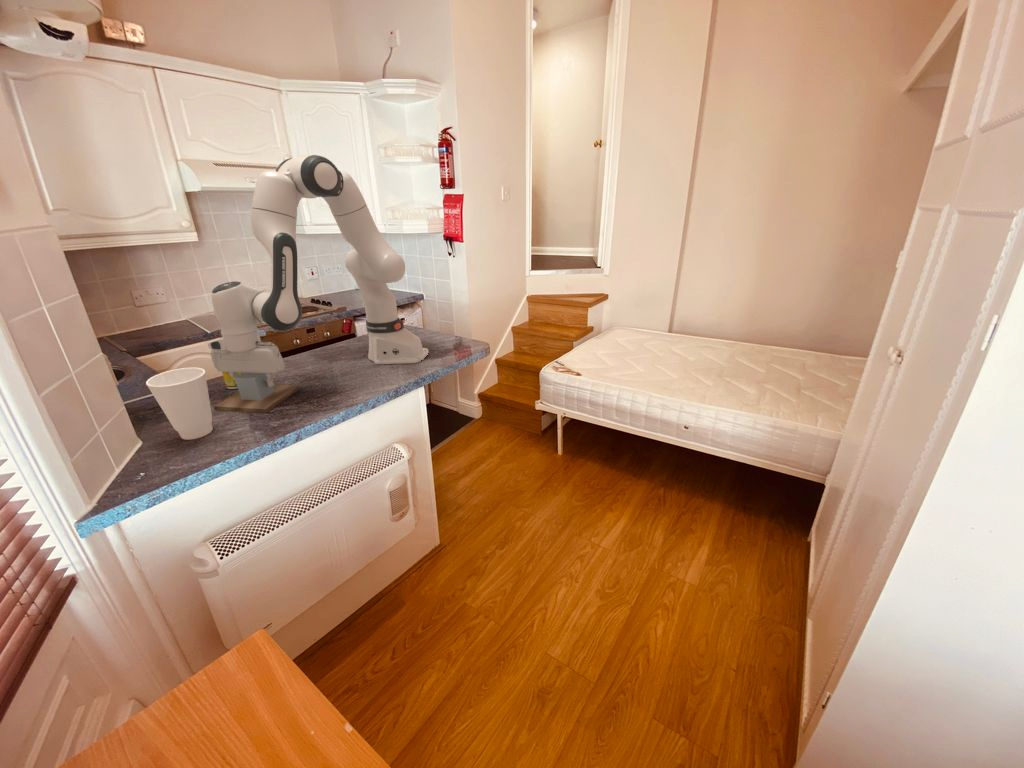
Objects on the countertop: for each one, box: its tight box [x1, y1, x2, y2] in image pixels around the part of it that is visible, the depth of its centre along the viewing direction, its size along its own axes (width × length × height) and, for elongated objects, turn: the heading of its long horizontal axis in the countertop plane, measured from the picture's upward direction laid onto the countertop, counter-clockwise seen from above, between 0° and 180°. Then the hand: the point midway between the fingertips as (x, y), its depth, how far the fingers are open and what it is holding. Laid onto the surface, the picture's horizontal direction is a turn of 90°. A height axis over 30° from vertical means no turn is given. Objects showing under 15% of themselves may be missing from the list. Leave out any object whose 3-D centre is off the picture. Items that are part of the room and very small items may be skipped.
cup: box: [145, 366, 214, 441], centre depth 107 cm, size 12×12×16 cm
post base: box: [213, 383, 300, 414], centre depth 126 cm, size 16×16×7 cm
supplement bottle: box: [221, 372, 243, 390], centre depth 135 cm, size 5×5×10 cm
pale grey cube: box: [235, 373, 274, 401], centre depth 126 cm, size 6×6×7 cm
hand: (255, 385), depth 126 cm, fingers open, 8 cm apart
